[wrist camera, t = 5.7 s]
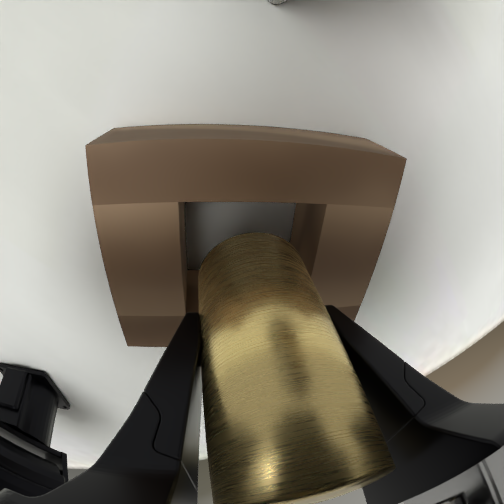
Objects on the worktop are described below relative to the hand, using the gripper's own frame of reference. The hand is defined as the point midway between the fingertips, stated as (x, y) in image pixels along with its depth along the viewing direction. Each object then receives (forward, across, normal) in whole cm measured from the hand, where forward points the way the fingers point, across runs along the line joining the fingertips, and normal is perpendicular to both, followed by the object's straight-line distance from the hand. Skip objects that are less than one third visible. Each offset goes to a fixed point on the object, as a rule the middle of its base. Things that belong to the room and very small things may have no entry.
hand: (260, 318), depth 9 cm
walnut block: (+6, 0, 0) cm, 7 cm away
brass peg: (+2, 0, 0) cm, 2 cm away
